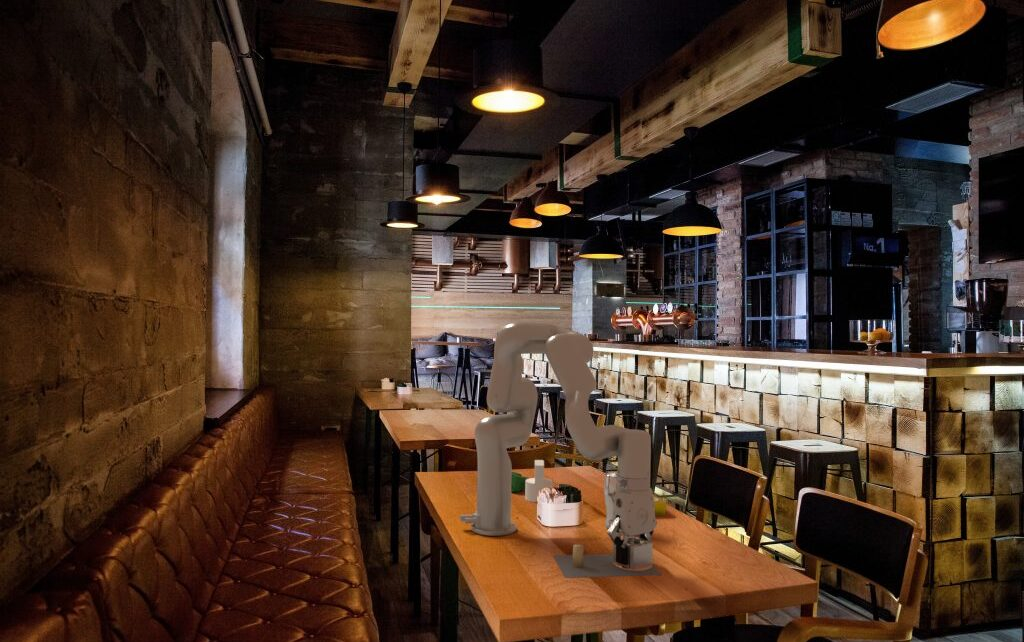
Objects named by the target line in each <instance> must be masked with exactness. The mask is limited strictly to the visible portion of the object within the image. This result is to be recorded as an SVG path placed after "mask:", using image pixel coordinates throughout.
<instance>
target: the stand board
mask: <svg viewBox="0 0 1024 642" xmlns="http://www.w3.org/2000/svg"><path fill="white" fill-rule="evenodd" d="M584 549H585V547H584V544H579V543H576V544H573V545H572V554H562V555H561V554H559V555H558V554H557V555H556V554H555V555H553V558H554V560H555V561H556V564H557V566H558V568H559V569H560V571H561V573H562V575H563V577H564V579H570V578H571V579H572V578H573V579H574V578H575V579H577V578H578V579H579V578H603V577H604V578H605V577H606V578H607V577H609V578H610V577H611V578H612V577H644V576H650V577H651V576H662V573H660V572H659V570H658V569H657V568H656V567H655V565H653V564H652V568H651V569H649V570H646V571H628V570H623V569H620V568H618V567H616V566H615V565H614V564H613V553H605V554H603V553H601V554H597V553H596V554H584Z"/></svg>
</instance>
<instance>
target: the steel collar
mask: <svg viewBox="0 0 1024 642" xmlns="http://www.w3.org/2000/svg"><path fill="white" fill-rule="evenodd" d="M620 539H621V540H623V537H621V538H620ZM629 543H635V544H638V545H634V546H632V545H631V544H629ZM653 543H654V542H652V541H647V540H644V539H641V538H639V536H632V537H629V538H628V541H627V545H626V547H627V548H628V564H627V565H623V566H625V567H628V568H630V569H633V570H635V569H638V568H641V567H645V566H648V565H651V564H652V565H653V548H654V547H653V545H654V544H653ZM612 554H613V562H616V545H614V542H613V541H612ZM616 563H617V562H616ZM618 564H620V563H618ZM620 565H622V564H620Z"/></svg>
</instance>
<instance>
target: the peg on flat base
mask: <svg viewBox="0 0 1024 642" xmlns="http://www.w3.org/2000/svg"><path fill="white" fill-rule="evenodd" d="M629 544H631V545H632V546H634V545H638V544H635V543H629ZM613 564H614V565H615V566H616V567H618V568H620V569H623V570H628V571H646V570H649V569H651V568H652V565H653V563H652V564H651V565H648V566H645V567H641V568H638V569H635V570H633V569H630V568H628V567H625V566H623V565H620V564H618V562H617V563H616V562H613Z"/></svg>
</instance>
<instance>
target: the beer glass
mask: <svg viewBox="0 0 1024 642" xmlns="http://www.w3.org/2000/svg"><path fill="white" fill-rule="evenodd" d="M617 481H618V471H610V472H605V473H604V483H603V486H604V487H603V495H604V502H605V509H606V511H605V512H606V517H605V521H604V522H605V523H604V527H605V529H608V530H609V528H610V527H611V525H612V524H613V508H614V500H615V494H616V490H617V485H616V482H617Z"/></svg>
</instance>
